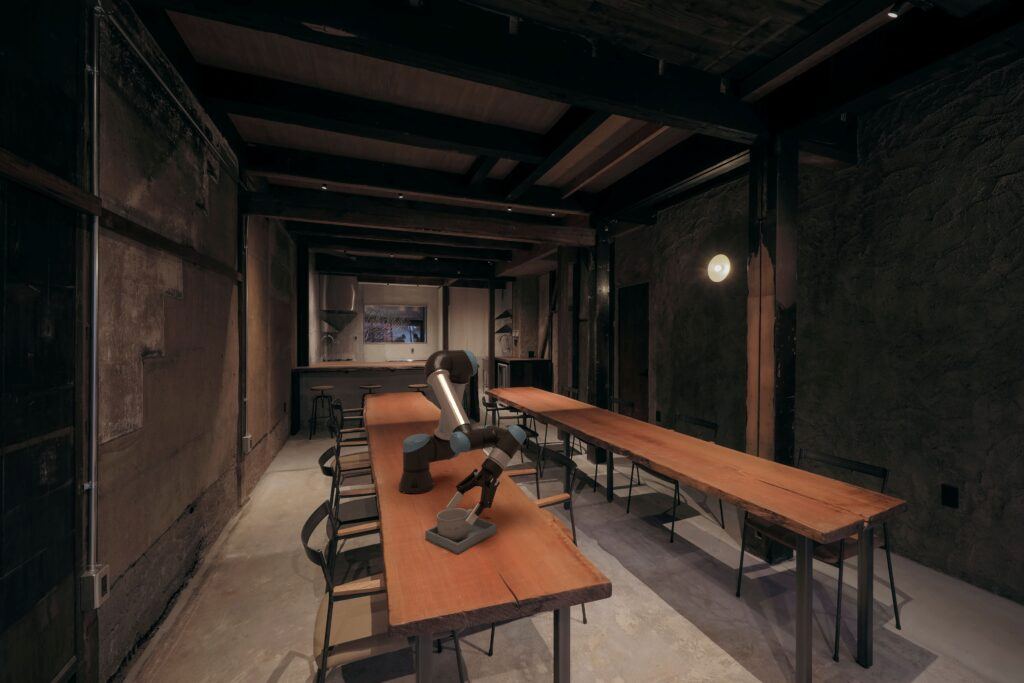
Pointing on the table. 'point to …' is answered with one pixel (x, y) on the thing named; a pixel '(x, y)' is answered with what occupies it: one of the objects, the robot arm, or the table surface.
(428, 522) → the table surface
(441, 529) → the teacup
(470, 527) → the tray
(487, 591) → the table surface
